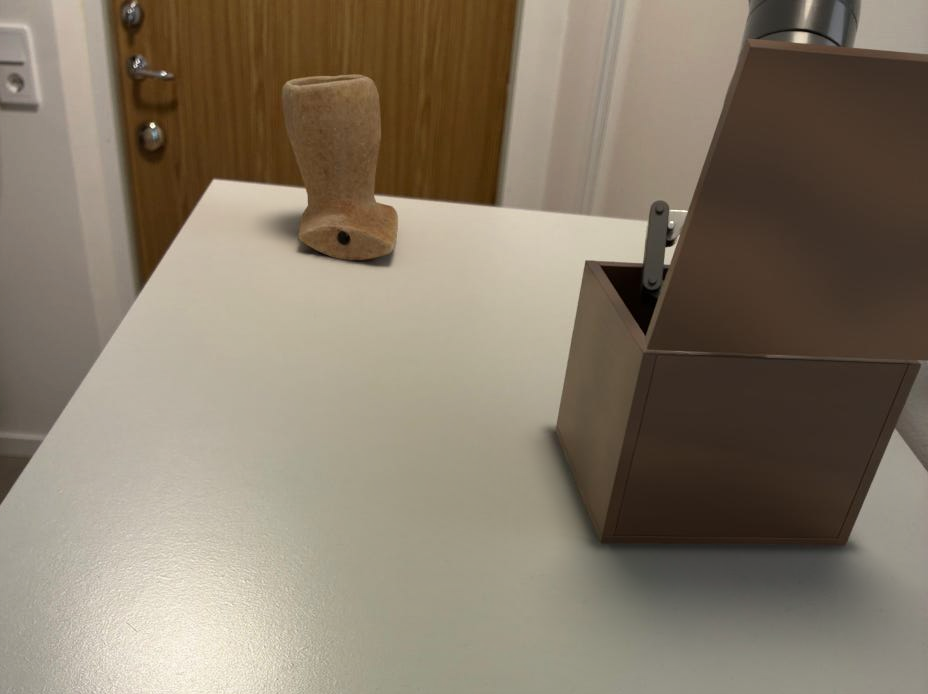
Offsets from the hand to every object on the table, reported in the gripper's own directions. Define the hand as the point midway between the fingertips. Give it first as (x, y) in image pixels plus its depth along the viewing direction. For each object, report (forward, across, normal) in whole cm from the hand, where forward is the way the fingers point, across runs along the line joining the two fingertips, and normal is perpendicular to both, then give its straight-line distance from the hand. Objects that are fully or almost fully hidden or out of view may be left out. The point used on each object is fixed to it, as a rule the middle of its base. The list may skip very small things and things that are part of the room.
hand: (722, 380), depth 62 cm
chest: (+5, 0, +7) cm, 9 cm away
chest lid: (-4, +3, -13) cm, 14 cm away
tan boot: (-21, -38, +34) cm, 55 cm away
